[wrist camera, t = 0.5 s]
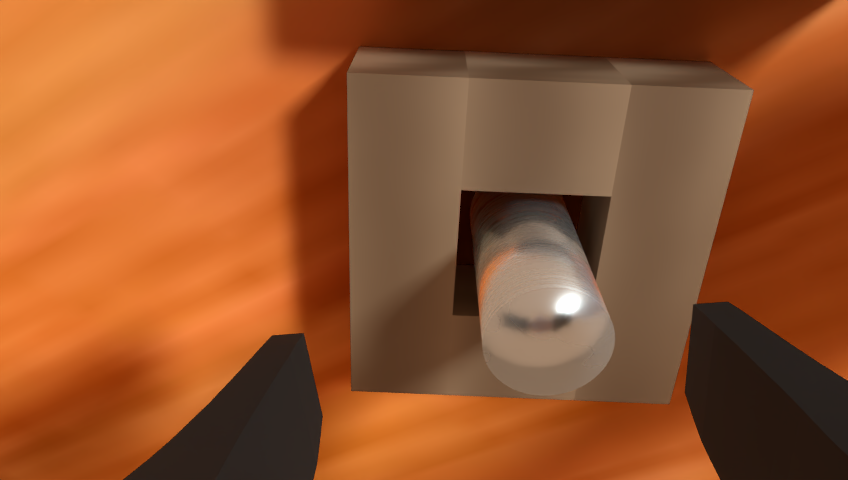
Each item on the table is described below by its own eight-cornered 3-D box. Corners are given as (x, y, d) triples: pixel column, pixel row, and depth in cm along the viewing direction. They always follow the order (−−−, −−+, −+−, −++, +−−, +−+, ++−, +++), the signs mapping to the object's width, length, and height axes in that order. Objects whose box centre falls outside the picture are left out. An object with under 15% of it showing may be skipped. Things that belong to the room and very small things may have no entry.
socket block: (710, 61, 19) (753, 90, 17) (643, 346, 24) (669, 404, 21) (359, 46, 19) (346, 72, 17) (360, 334, 24) (351, 390, 21)
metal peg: (570, 170, 21) (625, 290, 15) (557, 255, 22) (603, 398, 16) (473, 166, 21) (488, 285, 15) (466, 251, 22) (477, 392, 16)
